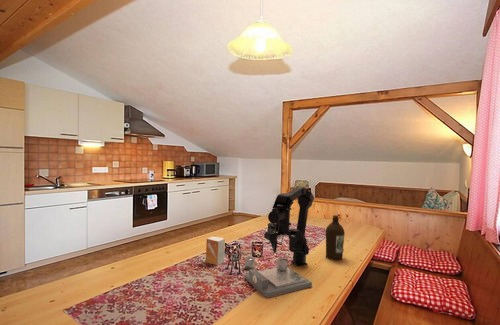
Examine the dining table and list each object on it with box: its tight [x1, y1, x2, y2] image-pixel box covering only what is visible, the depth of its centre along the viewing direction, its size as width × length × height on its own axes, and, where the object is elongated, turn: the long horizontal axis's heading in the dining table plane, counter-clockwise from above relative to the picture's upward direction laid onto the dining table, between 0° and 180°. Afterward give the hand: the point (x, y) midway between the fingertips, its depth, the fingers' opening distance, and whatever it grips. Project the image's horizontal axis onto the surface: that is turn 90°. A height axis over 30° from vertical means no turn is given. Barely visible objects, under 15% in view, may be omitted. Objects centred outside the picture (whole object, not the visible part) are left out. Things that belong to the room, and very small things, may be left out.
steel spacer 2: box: [276, 257, 288, 272], centre depth 133 cm, size 5×5×5 cm
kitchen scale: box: [244, 266, 313, 299], centre depth 125 cm, size 24×20×6 cm
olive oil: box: [325, 214, 346, 261], centre depth 160 cm, size 11×11×25 cm
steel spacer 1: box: [244, 256, 256, 271], centre depth 141 cm, size 5×5×5 cm
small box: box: [205, 235, 226, 266], centre depth 147 cm, size 8×6×13 cm
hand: (282, 251), depth 132 cm, fingers open, 9 cm apart
